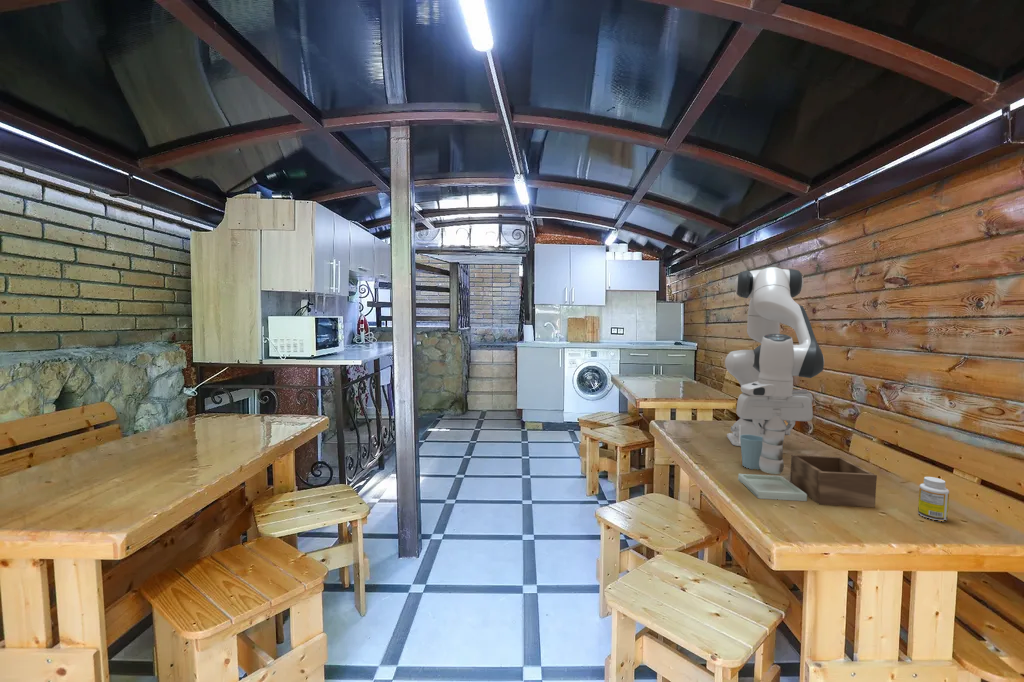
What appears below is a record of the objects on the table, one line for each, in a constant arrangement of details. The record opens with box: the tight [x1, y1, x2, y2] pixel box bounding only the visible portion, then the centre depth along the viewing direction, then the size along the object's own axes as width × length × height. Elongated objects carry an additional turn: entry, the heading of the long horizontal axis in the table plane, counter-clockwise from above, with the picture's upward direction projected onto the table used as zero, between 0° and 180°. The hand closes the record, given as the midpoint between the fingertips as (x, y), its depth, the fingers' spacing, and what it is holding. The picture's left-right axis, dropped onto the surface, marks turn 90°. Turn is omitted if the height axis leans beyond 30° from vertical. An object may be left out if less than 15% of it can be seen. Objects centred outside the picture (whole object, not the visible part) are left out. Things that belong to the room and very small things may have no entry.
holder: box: [789, 454, 878, 508], centre depth 125 cm, size 15×14×9 cm
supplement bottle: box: [917, 476, 950, 521], centre depth 111 cm, size 6×6×10 cm
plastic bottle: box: [759, 409, 787, 475], centre depth 127 cm, size 6×7×20 cm
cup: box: [740, 435, 763, 470], centre depth 147 cm, size 8×8×10 cm
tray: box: [737, 473, 808, 502], centre depth 128 cm, size 14×13×2 cm
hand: (772, 434), depth 127 cm, fingers closed on plastic bottle, 6 cm apart
